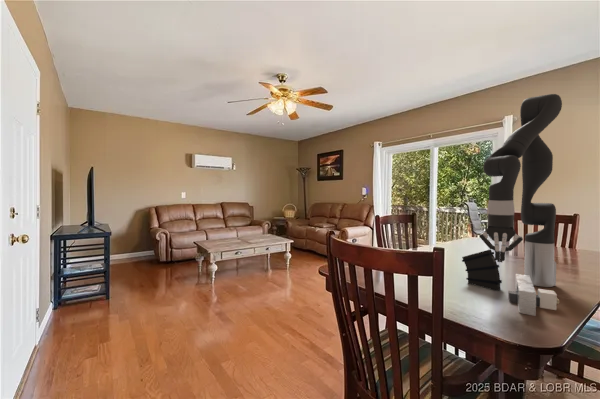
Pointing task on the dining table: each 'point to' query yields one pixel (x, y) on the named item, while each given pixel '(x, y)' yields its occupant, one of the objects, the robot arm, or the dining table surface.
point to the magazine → (483, 270)
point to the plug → (539, 298)
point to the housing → (525, 294)
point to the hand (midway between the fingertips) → (500, 261)
